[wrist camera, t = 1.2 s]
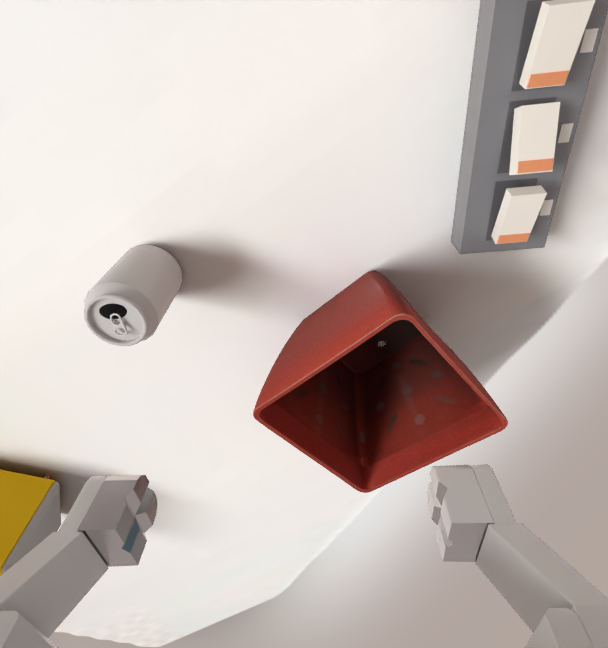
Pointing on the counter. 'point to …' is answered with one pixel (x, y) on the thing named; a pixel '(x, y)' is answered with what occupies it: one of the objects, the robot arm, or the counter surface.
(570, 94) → the rocker switch panel
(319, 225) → the counter surface
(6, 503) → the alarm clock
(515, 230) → the rocker
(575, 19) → the block
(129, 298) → the can
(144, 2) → the counter surface
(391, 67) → the counter surface
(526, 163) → the rocker
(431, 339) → the plant pot
